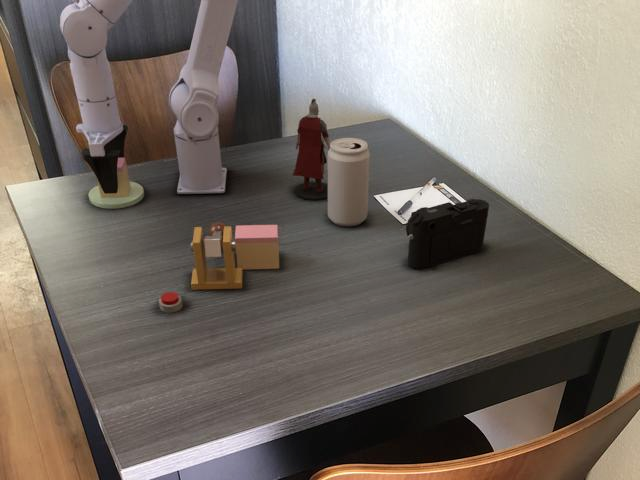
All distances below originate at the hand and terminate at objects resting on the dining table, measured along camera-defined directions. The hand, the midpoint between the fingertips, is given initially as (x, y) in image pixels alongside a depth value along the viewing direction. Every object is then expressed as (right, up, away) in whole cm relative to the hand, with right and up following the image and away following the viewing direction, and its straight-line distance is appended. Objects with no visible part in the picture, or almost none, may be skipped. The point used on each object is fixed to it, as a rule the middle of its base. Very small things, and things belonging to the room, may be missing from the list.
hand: (114, 182), depth 121 cm
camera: (+52, -14, -10) cm, 55 cm away
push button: (+14, -25, -22) cm, 36 cm away
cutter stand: (+20, -20, -17) cm, 33 cm away
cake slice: (0, -1, +1) cm, 2 cm away
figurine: (+33, 0, +4) cm, 33 cm away
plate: (0, -2, +2) cm, 2 cm away
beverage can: (+39, -7, -3) cm, 39 cm away
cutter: (+20, -15, -16) cm, 30 cm away
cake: (+25, -17, -13) cm, 33 cm away
